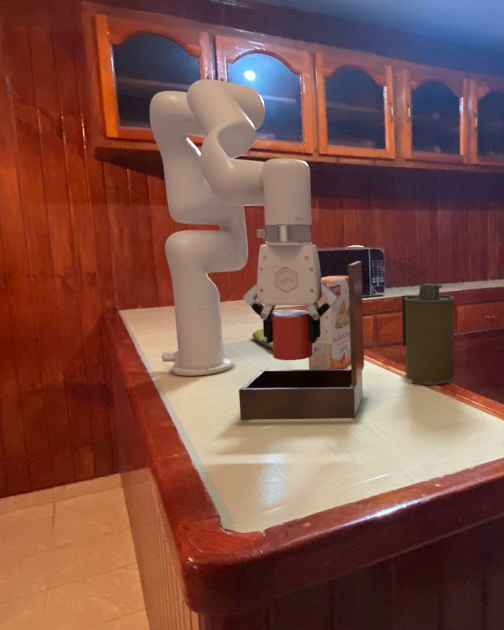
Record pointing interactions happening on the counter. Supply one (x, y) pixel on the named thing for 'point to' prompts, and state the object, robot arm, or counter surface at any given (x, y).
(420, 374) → the canister
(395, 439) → the counter surface
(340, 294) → the cracker box
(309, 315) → the tin can
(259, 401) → the chest
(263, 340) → the dish towel
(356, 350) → the lid
